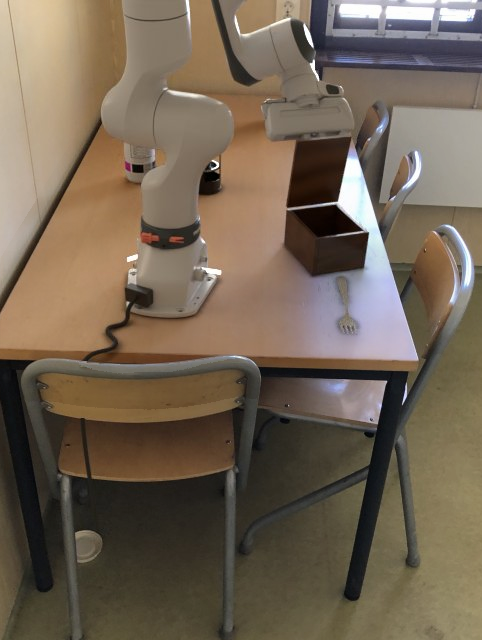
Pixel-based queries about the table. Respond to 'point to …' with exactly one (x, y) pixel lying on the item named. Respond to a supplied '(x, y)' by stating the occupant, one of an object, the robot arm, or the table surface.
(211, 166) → the french press
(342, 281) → the fork
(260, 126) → the table surface
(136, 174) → the supplement can
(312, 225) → the box
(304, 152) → the lid
